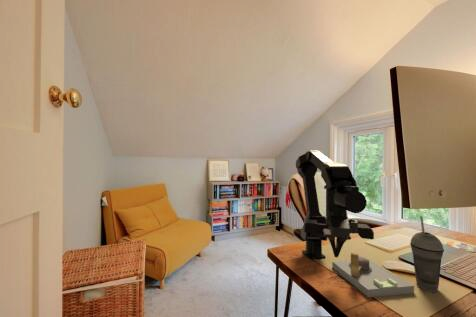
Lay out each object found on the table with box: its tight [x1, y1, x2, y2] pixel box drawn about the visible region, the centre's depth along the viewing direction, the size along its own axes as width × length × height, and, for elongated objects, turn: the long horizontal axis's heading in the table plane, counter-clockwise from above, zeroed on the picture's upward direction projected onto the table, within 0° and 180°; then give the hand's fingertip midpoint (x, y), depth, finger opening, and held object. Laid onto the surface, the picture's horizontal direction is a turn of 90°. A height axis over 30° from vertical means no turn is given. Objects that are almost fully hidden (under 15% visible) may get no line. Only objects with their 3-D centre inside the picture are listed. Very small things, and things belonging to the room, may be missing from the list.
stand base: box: [331, 258, 415, 298], centre depth 64 cm, size 16×14×3 cm
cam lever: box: [350, 252, 369, 277], centre depth 65 cm, size 10×5×6 cm, turn 138°
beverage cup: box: [409, 216, 445, 293], centre depth 60 cm, size 7×7×20 cm
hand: (336, 256), depth 63 cm, fingers closed
